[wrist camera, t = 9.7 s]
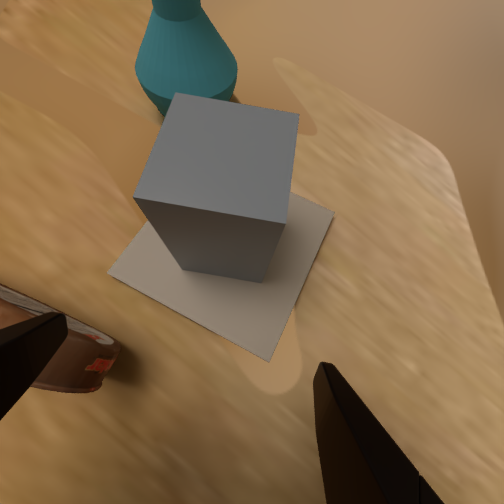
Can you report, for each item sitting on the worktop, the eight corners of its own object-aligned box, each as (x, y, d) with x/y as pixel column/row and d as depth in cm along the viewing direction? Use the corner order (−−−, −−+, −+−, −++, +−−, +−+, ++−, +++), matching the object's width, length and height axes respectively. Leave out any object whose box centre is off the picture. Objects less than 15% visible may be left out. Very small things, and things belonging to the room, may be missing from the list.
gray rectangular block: (261, 283, 19) (286, 223, 10) (181, 269, 19) (132, 196, 10) (271, 214, 22) (299, 114, 12) (200, 201, 22) (175, 92, 12)
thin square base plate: (267, 361, 18) (278, 366, 14) (111, 275, 20) (75, 254, 15) (331, 216, 23) (354, 184, 18) (202, 157, 24) (195, 114, 20)
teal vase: (252, 124, 27) (272, -122, 13) (175, 156, 24) (96, -99, 10) (211, 73, 29) (189, -178, 15) (137, 99, 27) (32, -169, 13)
